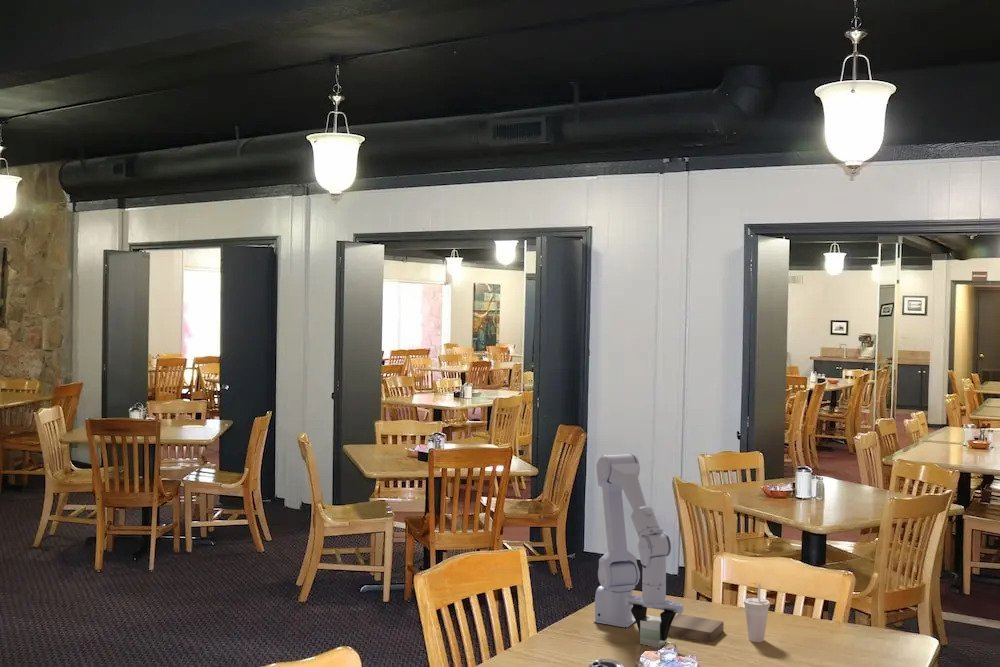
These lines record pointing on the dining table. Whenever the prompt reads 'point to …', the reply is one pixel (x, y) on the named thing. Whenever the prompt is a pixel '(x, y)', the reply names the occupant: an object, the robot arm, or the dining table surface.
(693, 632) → the walnut block
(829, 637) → the dining table surface
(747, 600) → the smoothie
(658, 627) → the steel tin
